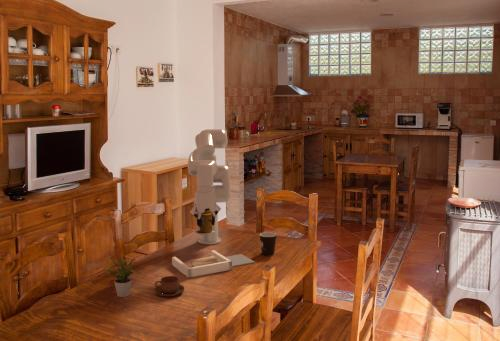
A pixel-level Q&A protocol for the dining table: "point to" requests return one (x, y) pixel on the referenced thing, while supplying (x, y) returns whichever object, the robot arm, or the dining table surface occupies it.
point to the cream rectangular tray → (204, 266)
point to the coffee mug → (268, 243)
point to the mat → (239, 260)
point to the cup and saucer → (169, 286)
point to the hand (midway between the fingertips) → (205, 225)
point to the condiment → (205, 223)
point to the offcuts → (204, 261)
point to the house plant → (122, 277)
